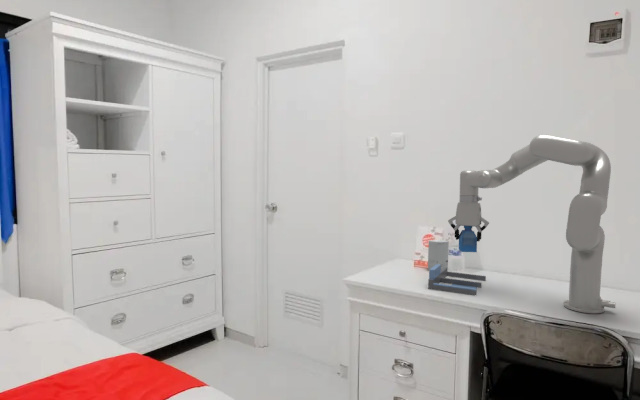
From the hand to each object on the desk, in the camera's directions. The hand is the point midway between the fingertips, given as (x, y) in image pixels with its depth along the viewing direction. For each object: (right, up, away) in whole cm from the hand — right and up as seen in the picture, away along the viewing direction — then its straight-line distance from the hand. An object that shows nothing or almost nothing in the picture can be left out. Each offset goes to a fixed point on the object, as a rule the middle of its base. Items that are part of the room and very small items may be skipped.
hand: (467, 240), depth 184 cm
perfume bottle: (0, -5, 0) cm, 5 cm away
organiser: (-4, -19, +2) cm, 20 cm away
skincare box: (-5, -18, +28) cm, 34 cm away
